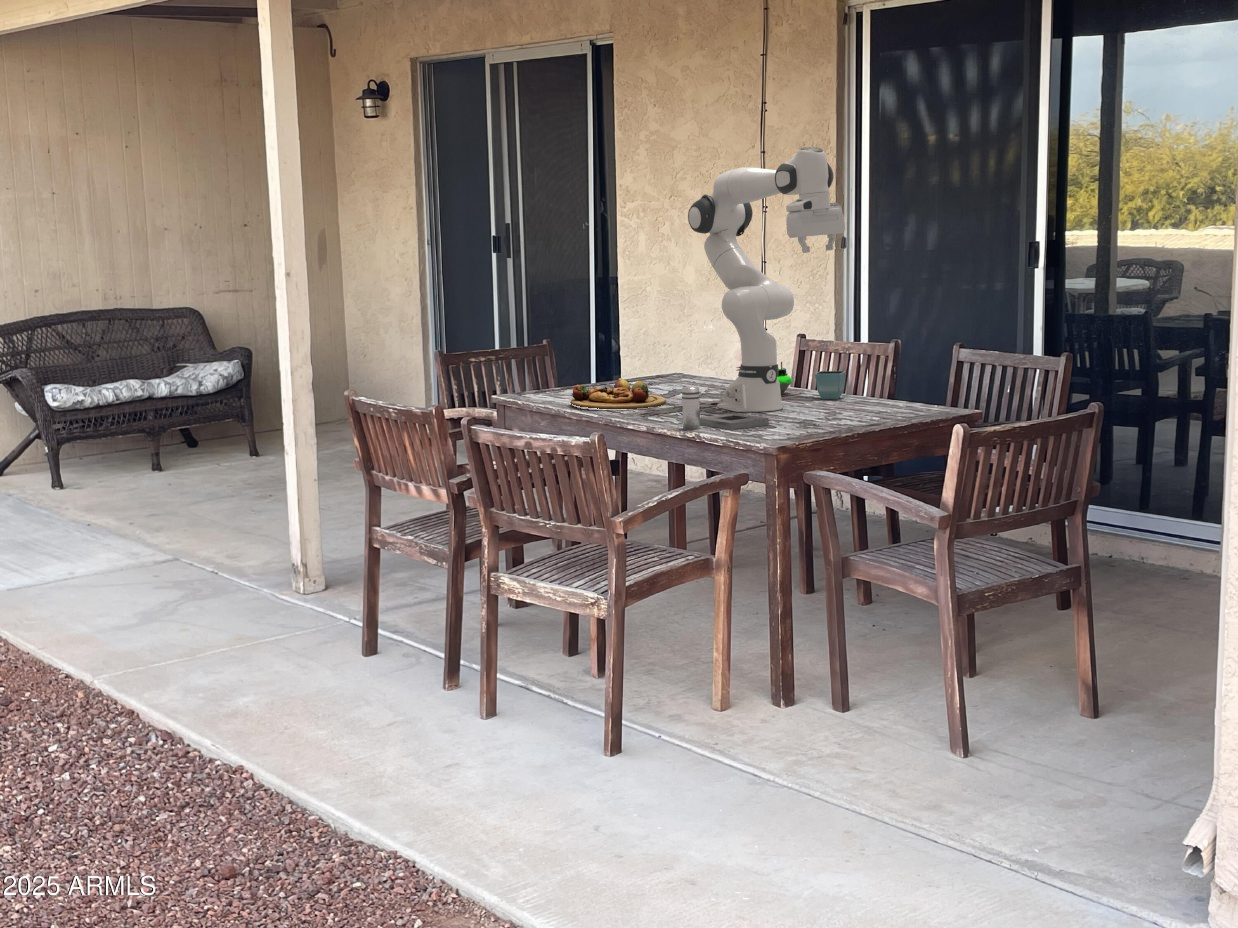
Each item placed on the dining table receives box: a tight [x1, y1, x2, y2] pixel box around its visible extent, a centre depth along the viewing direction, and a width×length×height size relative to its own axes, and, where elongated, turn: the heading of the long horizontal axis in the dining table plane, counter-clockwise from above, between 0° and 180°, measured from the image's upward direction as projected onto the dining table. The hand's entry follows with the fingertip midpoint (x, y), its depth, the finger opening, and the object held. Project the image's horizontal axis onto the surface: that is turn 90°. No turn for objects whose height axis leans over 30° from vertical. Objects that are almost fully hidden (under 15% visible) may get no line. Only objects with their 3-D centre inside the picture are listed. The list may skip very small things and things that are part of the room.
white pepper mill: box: [681, 386, 701, 431], centre depth 401 cm, size 5×5×12 cm
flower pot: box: [814, 370, 847, 401], centre depth 456 cm, size 9×9×9 cm
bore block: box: [700, 412, 770, 431], centre depth 406 cm, size 16×14×2 cm
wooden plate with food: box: [569, 377, 667, 409], centre depth 461 cm, size 32×32×8 cm
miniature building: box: [777, 361, 793, 395], centre depth 473 cm, size 12×12×11 cm
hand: (817, 251), depth 403 cm, fingers open, 8 cm apart
